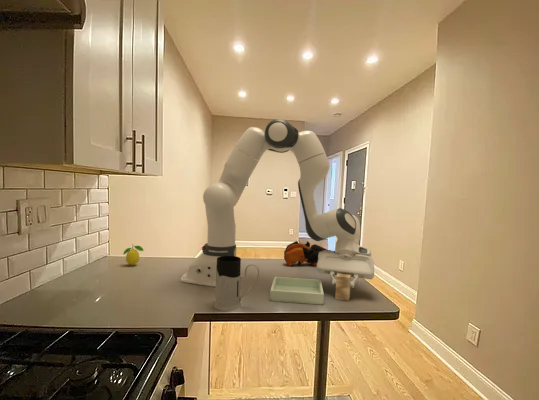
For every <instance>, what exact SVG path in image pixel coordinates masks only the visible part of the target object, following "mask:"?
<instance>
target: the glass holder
mask: <svg viewBox="0 0 539 400" xmlns="http://www.w3.org/2000/svg"><path fill="white" fill-rule="evenodd" d="M241 260H242V259H241V257H240V256H237V255H236V256H221V257H218V258H217V265H216V286H215V295H214V296H215V301H214V303H213V308H214V309H216V310H218V311H221V312H223V311H224V312H230V311H235V310H236V311H237V310H239V309H240V308H242V302H241V300H242V298H243V297H244V296H245V295H247V294H248V293H249V292H250V291H252V290H253V289H254V288H255V286H256V285H257V283H258V281H259V277H260V269H259V266H258V265H256V264H255V263H250V264H248V265H246V267H245V269H244V275H242V273H241V269H242V268H241V264H242V261H241ZM250 266H252V267H253V266H254V267H255V268H256V269H257V278H256V281H255V283H254V285H253V286H252V287H251V288H250V289H248V290H247V291H246V292H245V293H243V294H242V295H241V281H242V280H241V279H242V278H244V277H246V276H247V270H248V268H249V267H250Z"/></svg>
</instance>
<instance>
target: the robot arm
mask: <svg viewBox="0 0 539 400" xmlns="http://www.w3.org/2000/svg"><path fill="white" fill-rule="evenodd" d="M266 151H270V152H274V153H282V154H283V153H287V152H289V151H290V152H292V153H293V154H294V157H295V159H296V162H297V164H298V167H299V172H300V175H299V179H298V182H297V188H298V193H299V198H300V202H301V208H302V211H303V216H304V217H303V218H304V223H305V232H306V234H307V235H308V237H309V238H311V239H312V240H313V241H316V242H321V241H323V240H326V239H328V238H334V237H336V238H337V240H336V242H335V247H334V250H331V251H327V250H328V249H327V250H323V251H321V252H319V254H318V262H317V265H316V270H317V271H316V272H318V273H319V274H324V275H330V279H331V280H332V281H331V284H332V286H335V287H336V278H335V276H337V274H338V273H344V274H351V278H353V279H352V280H350V289H355V285H356V284H357V282H358V281H359V279H365V280H373V279H374V278H375V265H374V263H375V262H374V259H373V257H372V250H371V249H369V248H366V247H364V246H361V245H360V240H361V224H360V220H359V218H358V217H357V216H356V215H354V214H351V213H350V211H348V210H346V209H344V208H342V207H341V208H335V209H333V210H330V211H327V212H324V213H321V214H319V213H318V210H317V206H316V202H315V196H314V192H315V190H316V188H317V186H318V185H320V183H321V182H322V181H324V179H325V178H326V177H327V175H328V173H329V170H330V161H329V160H328V157H327V156H328V155H327V154H326V152H325V149H324V146H323V144H322V143H321V140H320V139H319V137H318V136H317V134H316V133H315V132H314V131H312V130H302V131H299V130H298V129H297V128H296V127H295V126H293V125H292V124H291V123H290V122H289V121H287V120H285V119H283V118H276V119H272V120H271V121H270V122H268V123H267V125H266V126H265V129H261V128H260V127H256V126H250V127H248V128H247V129H246V130H245V131H244V133H243V134H242V135H241V136H240V138H239V139H238V141H237V142H236V144H235V145H234V147H233V149H232V151H231V152H230V154H229V156H228V158H227V160H226V161H225V163H224V165H223V170H222V173H221V175H220V178H219V179H218V182H214V183H211V184H209V185H208V186H207V188H206V189H205V190H204V192H203V194H202V198H203V199H202V200H203V203H204V206H205V214H206V221H207V242H206V243H205V244H204V245H202V247H201V251H202V253H201V254H200V255H199V256H197V257H196V258H195V259H193V260H192V261H191V262H190V263H189V264H188V267H187V270H186V271H187V272H185V273H184V274H183V275H181V276H180V281H181V283H187V284H193V285H201V286H208V287H216V265H217V258H218V257H221V256H236V257H237V244H236V232H237V231H236V230H237V229H236V228H237V227H236V226H237V225H236V221H235V210H234V207H235V206H236V205H237V204H238V203H239V200H240V198H241V197H242V194H243V193H244V191H245V188H246V186H247V184H248V182H249V180H250V177H251V176H252V174H253V172H254V171H255V169H256V167H257V165H258V163H259V162H260V160H261V158H262V156H263V154H264V153H265V152H266Z"/></svg>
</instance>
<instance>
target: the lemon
mask: <svg viewBox="0 0 539 400" xmlns="http://www.w3.org/2000/svg"><path fill="white" fill-rule="evenodd" d="M139 251H140V252H143V251H145V250H144V248H143V247H142V246H140V245H134V244H132V247H128V248H125V249H124V251H123V253H122V254H123V255H125V261H126V263H127V264H128V265H130V266H132V267H133V266H134V265H136V264H138V263H139V260H140V254H139Z"/></svg>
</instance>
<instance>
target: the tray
mask: <svg viewBox="0 0 539 400" xmlns="http://www.w3.org/2000/svg"><path fill="white" fill-rule="evenodd" d="M269 292H270V295H269V301H270V302H278V303H279V302H281V303H283V302H284V303H295V304H297V303H298V304H308V305H311V304H312V305H322V306H323V305H324V302H325V301H324V297H325V294H324V289H323V284H322V279H319V278H316V279H314V278H303V277H302V278H301V277H298V278H297V277H289V276H287V277H284V276H274V278H273V280H272V285H271V288H270V291H269Z"/></svg>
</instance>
